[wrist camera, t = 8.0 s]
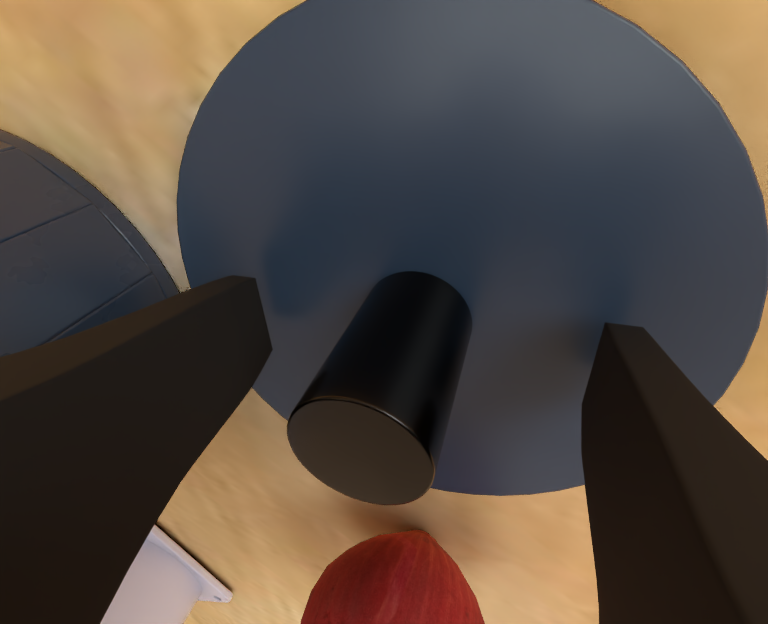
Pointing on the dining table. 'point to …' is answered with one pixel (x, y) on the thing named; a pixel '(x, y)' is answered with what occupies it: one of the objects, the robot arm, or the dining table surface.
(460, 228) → the lid
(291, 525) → the dining table surface
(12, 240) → the pan
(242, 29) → the dining table surface
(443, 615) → the onion
